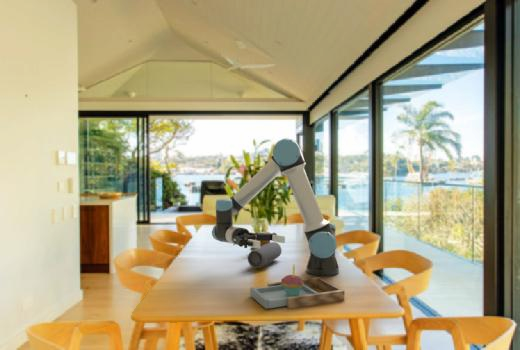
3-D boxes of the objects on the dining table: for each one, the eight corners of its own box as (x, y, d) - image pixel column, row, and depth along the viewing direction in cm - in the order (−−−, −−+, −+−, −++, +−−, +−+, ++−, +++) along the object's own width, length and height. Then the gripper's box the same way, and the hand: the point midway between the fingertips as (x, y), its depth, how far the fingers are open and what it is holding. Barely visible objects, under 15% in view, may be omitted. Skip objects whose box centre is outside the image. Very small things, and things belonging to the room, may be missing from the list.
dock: (318, 285, 162) (318, 277, 162) (345, 300, 144) (345, 290, 144) (267, 292, 153) (267, 283, 153) (289, 308, 135) (289, 298, 135)
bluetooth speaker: (266, 258, 208) (266, 240, 207) (282, 260, 204) (282, 241, 203) (246, 269, 187) (246, 248, 187) (263, 271, 183) (263, 250, 183)
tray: (300, 288, 156) (300, 281, 156) (320, 300, 142) (320, 292, 142) (250, 295, 148) (250, 287, 148) (265, 308, 134) (265, 300, 134)
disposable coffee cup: (260, 251, 225) (260, 231, 225) (274, 253, 220) (274, 232, 220) (251, 254, 218) (251, 233, 217) (265, 256, 212) (265, 235, 212)
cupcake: (307, 296, 143) (307, 264, 143) (285, 299, 141) (285, 266, 141) (298, 289, 152) (298, 259, 151) (277, 291, 149) (277, 260, 149)
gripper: (259, 240, 177) (293, 246, 162) (215, 249, 161) (248, 257, 145) (259, 224, 177) (293, 228, 162) (214, 231, 160) (248, 237, 145)
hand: (272, 242), depth 153 cm, fingers open, 13 cm apart
